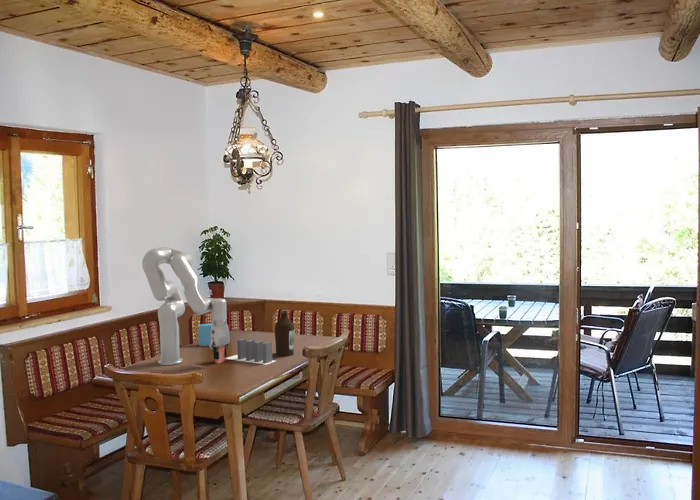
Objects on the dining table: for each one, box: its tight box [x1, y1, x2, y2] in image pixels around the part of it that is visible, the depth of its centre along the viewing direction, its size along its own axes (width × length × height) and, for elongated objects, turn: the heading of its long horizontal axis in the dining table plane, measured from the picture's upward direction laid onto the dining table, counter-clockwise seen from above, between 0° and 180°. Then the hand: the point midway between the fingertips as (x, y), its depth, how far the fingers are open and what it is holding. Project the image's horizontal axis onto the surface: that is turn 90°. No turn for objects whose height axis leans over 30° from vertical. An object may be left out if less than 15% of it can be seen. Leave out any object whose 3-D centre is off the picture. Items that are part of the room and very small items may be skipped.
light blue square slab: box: [197, 323, 212, 347], centre depth 377 cm, size 12×4×12 cm, turn 96°
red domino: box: [214, 345, 226, 364], centre depth 333 cm, size 2×5×10 cm, turn 150°
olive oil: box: [274, 309, 296, 357], centre depth 347 cm, size 11×11×25 cm
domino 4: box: [263, 341, 273, 363], centre depth 331 cm, size 2×5×10 cm, turn 150°
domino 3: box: [254, 340, 264, 362], centre depth 334 cm, size 2×5×10 cm, turn 150°
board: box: [225, 354, 276, 366], centre depth 337 cm, size 27×9×1 cm, turn 60°
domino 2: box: [246, 339, 256, 361], centre depth 337 cm, size 2×5×10 cm, turn 150°
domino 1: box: [237, 338, 248, 360], centre depth 340 cm, size 2×5×10 cm, turn 151°
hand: (220, 357), depth 333 cm, fingers closed on red domino, 4 cm apart
